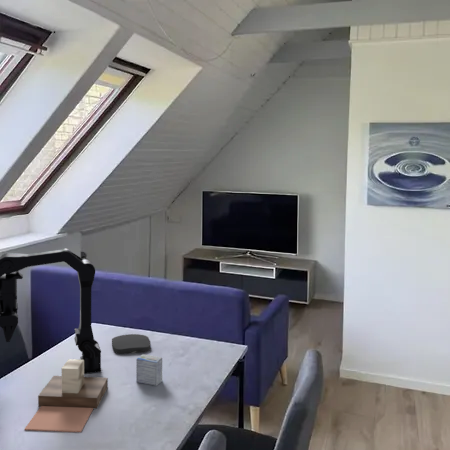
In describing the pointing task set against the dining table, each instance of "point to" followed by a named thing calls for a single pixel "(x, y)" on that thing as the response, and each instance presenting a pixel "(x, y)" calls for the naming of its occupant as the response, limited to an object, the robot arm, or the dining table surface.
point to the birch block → (72, 376)
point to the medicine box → (149, 369)
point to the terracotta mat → (59, 419)
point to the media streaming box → (131, 344)
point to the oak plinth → (84, 398)
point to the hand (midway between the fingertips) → (8, 337)
